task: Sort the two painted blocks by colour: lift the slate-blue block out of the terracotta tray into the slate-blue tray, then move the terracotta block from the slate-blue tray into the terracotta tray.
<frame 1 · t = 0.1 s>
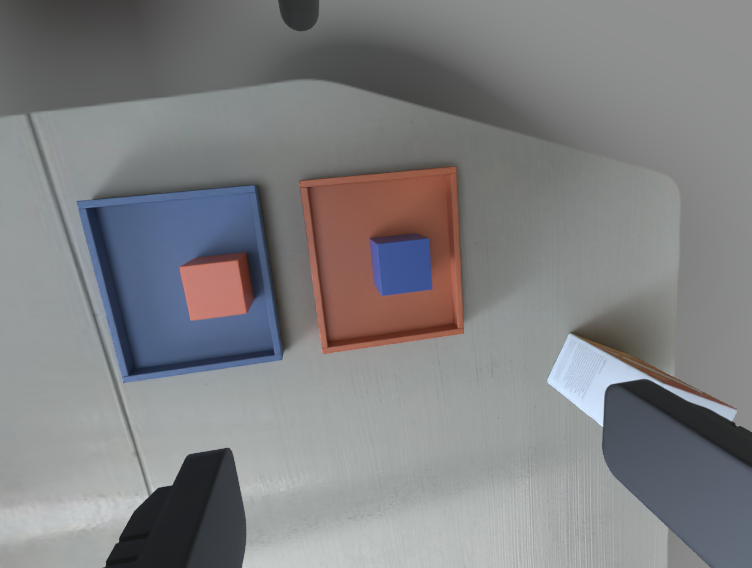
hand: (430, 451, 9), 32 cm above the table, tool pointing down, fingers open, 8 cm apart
blue block: (395, 259, 40), point 1 cm above the table, touching clay tray
clay tray: (383, 259, 40), on the table
clay block: (225, 279, 38), point 1 cm above the table, touching blue tray
small box: (584, 365, 47), on the table
blue tray: (193, 281, 38), on the table
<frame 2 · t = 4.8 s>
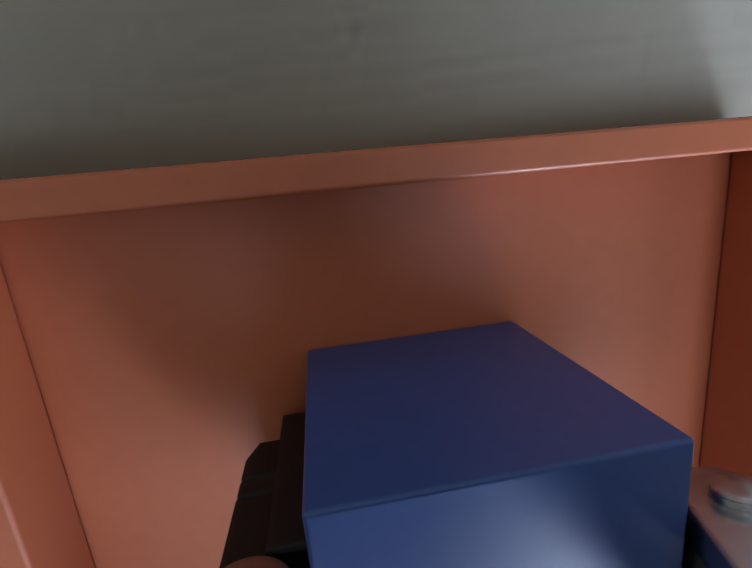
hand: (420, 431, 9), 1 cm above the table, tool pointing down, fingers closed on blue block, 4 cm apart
blue block: (420, 427, 9), point 1 cm above the table, touching clay tray, gripper
clay tray: (417, 449, 10), on the table
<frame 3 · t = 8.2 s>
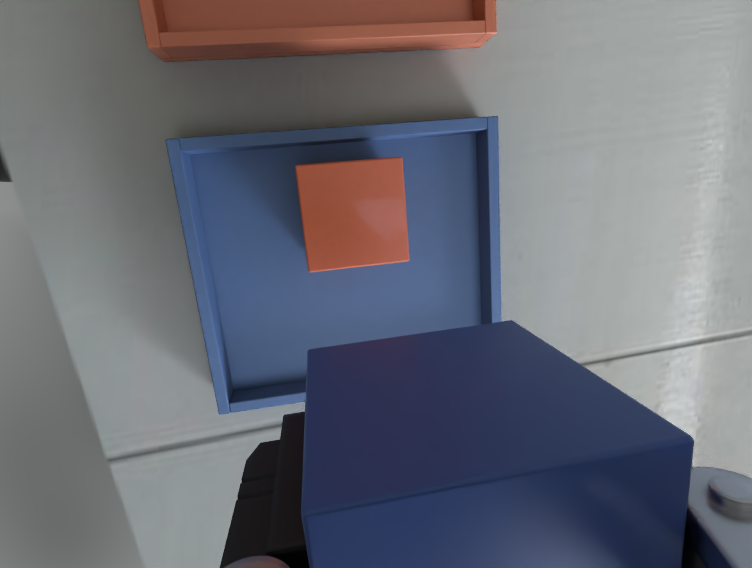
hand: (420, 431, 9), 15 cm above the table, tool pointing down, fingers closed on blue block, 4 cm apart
blue block: (420, 426, 9), point 15 cm above the table, touching gripper
clay block: (346, 210, 22), point 1 cm above the table, touching blue tray
blue tray: (351, 263, 23), on the table
when the fingers open (1 cm above the table, at t = 11.8 s): blue block stays where it is, resting on blue tray.
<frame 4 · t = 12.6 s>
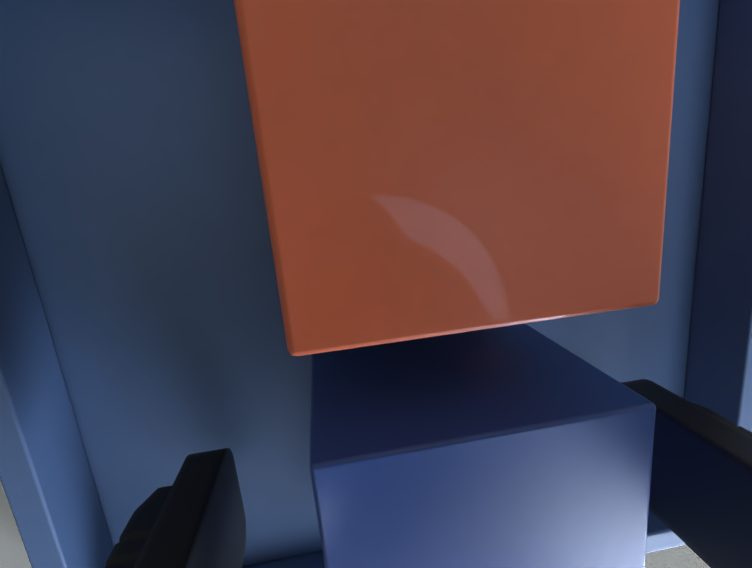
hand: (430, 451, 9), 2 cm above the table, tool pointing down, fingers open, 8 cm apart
blue block: (417, 409, 10), point 1 cm above the table, touching blue tray
clay block: (395, 159, 9), point 1 cm above the table, touching blue tray
blue tray: (400, 288, 10), on the table
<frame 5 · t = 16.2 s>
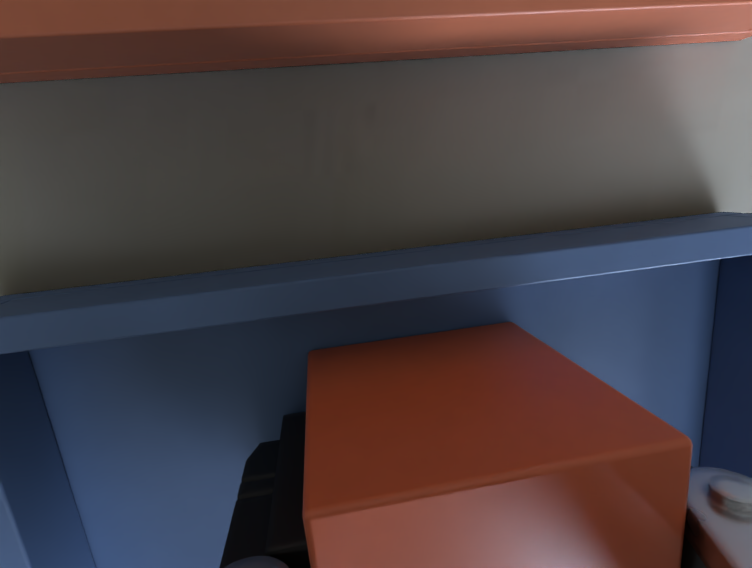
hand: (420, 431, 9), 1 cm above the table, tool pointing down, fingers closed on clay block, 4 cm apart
clay block: (420, 427, 9), point 1 cm above the table, touching blue tray, gripper
blue tray: (422, 515, 11), on the table
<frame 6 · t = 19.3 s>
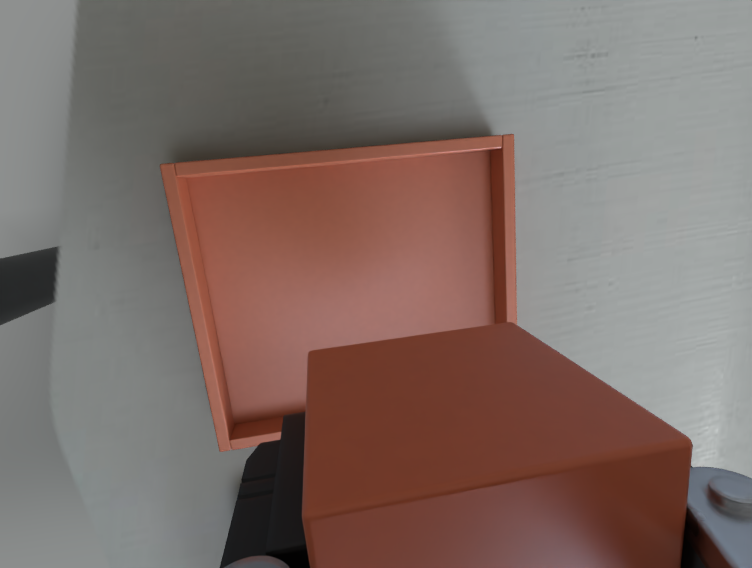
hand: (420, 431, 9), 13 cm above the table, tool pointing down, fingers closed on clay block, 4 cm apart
clay tray: (357, 288, 22), on the table
clay block: (420, 427, 9), point 13 cm above the table, touching gripper
when the fingers open (1 cm above the table, at t = 22.5 s): clay block stays where it is, resting on clay tray.
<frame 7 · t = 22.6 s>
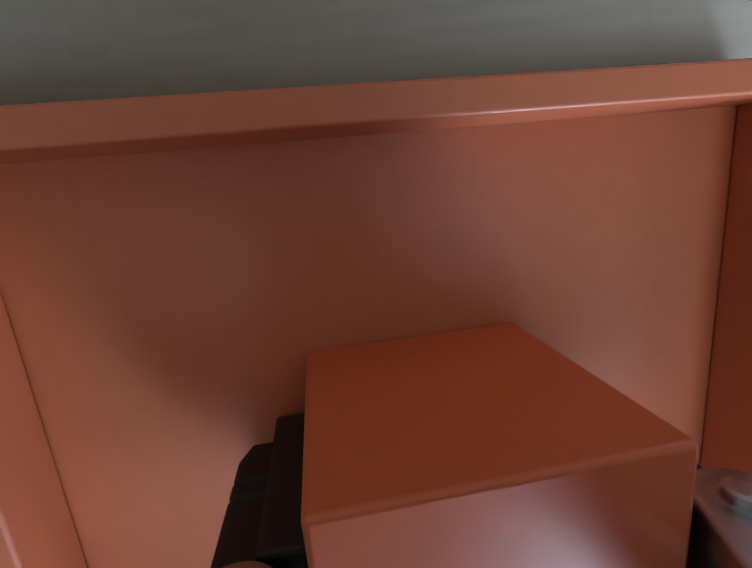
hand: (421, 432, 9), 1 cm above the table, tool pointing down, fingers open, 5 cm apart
clay tray: (412, 417, 10), on the table
clay block: (420, 429, 9), point 1 cm above the table, touching clay tray
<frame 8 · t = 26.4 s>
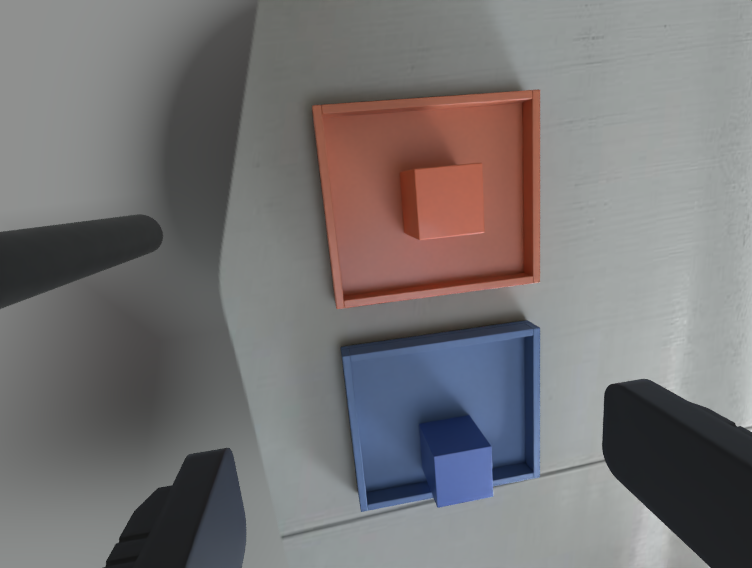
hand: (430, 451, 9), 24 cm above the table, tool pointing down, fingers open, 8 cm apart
blue block: (445, 442, 36), point 1 cm above the table, touching blue tray
clay tray: (428, 201, 32), on the table
clay block: (431, 200, 31), point 1 cm above the table, touching clay tray
blue tray: (441, 408, 36), on the table
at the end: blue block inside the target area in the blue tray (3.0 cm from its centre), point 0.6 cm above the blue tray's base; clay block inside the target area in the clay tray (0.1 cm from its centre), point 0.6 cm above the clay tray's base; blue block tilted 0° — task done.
